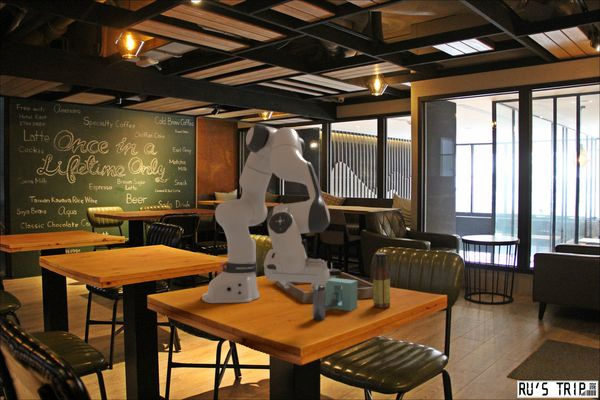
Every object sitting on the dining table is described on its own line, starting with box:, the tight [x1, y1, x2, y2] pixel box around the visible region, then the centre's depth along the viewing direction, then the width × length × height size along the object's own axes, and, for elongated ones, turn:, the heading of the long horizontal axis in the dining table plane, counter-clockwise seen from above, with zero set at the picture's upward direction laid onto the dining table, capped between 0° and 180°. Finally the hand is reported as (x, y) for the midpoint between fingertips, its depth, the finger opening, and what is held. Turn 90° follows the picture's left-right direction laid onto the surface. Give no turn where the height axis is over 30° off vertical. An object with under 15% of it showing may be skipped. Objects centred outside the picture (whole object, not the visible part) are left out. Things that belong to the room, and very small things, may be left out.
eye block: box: [325, 278, 358, 312], centre depth 177 cm, size 6×10×10 cm, turn 60°
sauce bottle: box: [372, 252, 391, 309], centre depth 179 cm, size 6×6×20 cm
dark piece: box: [312, 285, 339, 322], centre depth 166 cm, size 16×4×11 cm, turn 150°
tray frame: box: [275, 271, 373, 304], centre depth 205 cm, size 33×35×4 cm
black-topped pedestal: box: [310, 259, 342, 292], centre depth 202 cm, size 28×26×13 cm
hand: (301, 287), depth 154 cm, fingers open, 8 cm apart
